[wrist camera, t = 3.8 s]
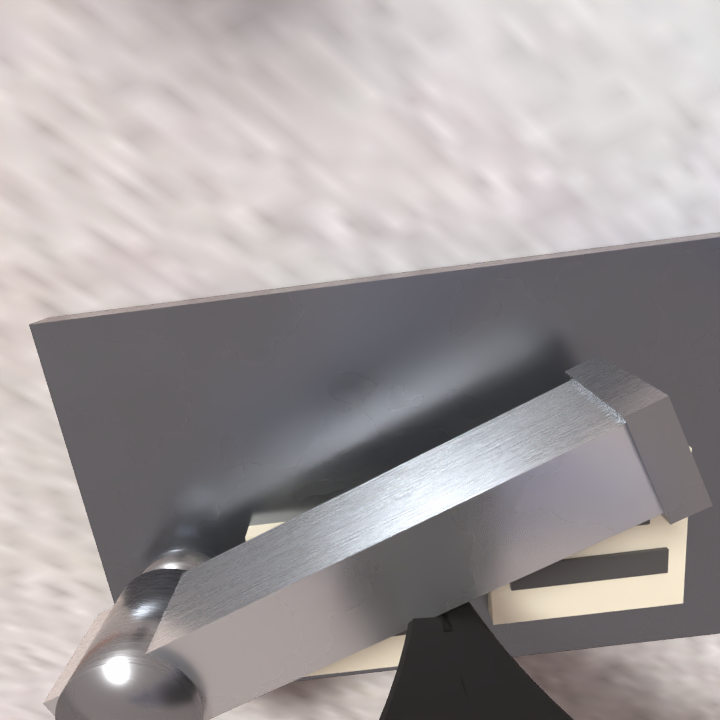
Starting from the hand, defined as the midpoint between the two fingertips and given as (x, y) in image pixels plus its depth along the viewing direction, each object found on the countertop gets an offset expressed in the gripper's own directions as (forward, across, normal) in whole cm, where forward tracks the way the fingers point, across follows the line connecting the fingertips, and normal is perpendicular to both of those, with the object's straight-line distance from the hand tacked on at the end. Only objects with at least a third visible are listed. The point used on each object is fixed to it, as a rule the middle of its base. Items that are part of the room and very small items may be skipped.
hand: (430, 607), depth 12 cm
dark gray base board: (+2, 0, -2) cm, 3 cm away
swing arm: (+1, +2, -2) cm, 3 cm away
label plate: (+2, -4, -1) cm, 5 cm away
